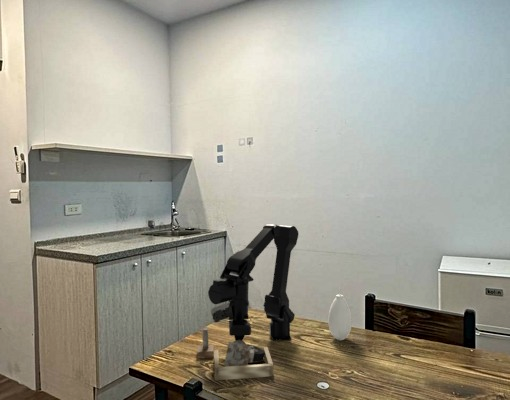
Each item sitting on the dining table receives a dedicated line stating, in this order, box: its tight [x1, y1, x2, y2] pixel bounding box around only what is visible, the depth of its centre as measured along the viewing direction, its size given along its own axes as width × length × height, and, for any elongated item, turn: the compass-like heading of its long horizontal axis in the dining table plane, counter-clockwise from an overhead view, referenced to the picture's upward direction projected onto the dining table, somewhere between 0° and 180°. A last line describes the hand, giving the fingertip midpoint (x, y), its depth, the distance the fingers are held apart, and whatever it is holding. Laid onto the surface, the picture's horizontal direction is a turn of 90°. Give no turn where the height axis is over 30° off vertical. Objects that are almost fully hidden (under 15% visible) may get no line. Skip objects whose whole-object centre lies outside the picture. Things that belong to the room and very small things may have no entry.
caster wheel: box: [224, 339, 264, 367], centre depth 109 cm, size 7×11×10 cm
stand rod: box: [196, 327, 215, 359], centre depth 115 cm, size 5×5×8 cm
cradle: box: [213, 346, 275, 381], centre depth 106 cm, size 16×12×3 cm
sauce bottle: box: [327, 287, 353, 341], centre depth 125 cm, size 8×8×18 cm
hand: (237, 346), depth 113 cm, fingers closed
